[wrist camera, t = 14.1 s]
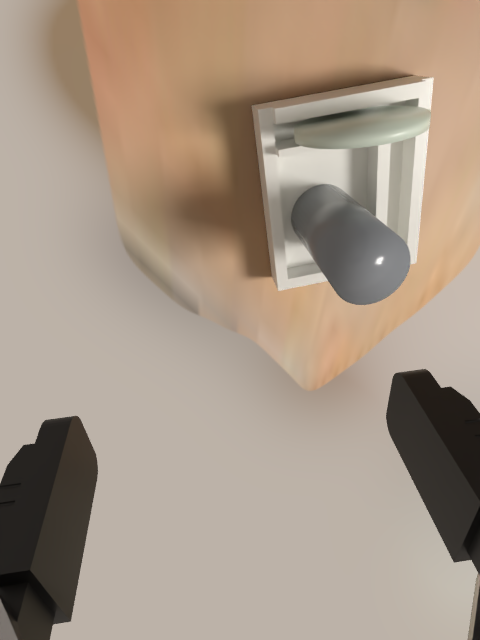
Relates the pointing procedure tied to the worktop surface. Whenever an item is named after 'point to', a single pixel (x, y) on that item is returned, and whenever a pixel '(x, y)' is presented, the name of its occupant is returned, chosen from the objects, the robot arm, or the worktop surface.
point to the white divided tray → (343, 162)
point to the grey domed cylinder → (350, 245)
